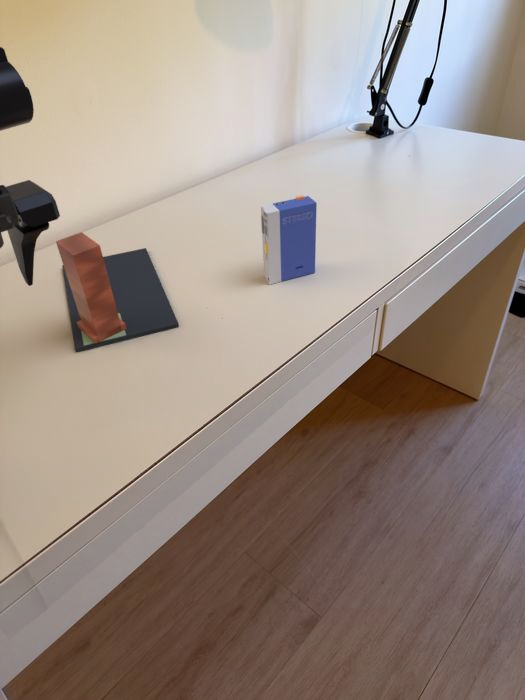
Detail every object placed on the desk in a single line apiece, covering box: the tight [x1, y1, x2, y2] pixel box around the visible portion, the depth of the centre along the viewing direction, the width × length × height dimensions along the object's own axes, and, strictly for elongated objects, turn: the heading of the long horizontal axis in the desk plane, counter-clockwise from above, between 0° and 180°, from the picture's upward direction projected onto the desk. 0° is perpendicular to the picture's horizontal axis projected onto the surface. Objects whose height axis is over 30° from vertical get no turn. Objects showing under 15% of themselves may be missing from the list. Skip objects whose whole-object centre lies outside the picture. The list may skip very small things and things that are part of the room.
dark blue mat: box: [61, 247, 180, 353], centre depth 80 cm, size 24×14×1 cm, turn 21°
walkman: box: [260, 194, 318, 285], centre depth 79 cm, size 8×3×12 cm, turn 112°
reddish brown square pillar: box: [55, 231, 127, 344], centre depth 68 cm, size 5×5×13 cm
